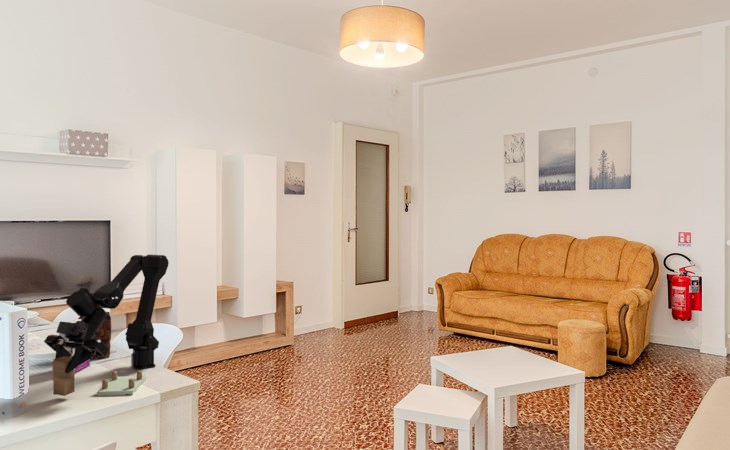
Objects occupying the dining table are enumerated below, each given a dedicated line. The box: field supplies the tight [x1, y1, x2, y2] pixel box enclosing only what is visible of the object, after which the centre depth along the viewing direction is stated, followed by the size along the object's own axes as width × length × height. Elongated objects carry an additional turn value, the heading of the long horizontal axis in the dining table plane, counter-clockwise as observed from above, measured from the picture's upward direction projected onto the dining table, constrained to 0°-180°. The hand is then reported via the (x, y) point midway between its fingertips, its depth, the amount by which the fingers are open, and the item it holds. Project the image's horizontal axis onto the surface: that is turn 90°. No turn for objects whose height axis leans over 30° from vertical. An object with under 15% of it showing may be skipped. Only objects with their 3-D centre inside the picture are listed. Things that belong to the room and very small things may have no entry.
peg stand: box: [96, 369, 147, 397], centre depth 164 cm, size 14×10×4 cm
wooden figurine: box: [77, 316, 112, 360], centre depth 195 cm, size 12×6×18 cm, turn 109°
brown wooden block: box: [52, 356, 76, 397], centre depth 153 cm, size 4×4×10 cm
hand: (59, 371), depth 152 cm, fingers closed on brown wooden block, 4 cm apart
